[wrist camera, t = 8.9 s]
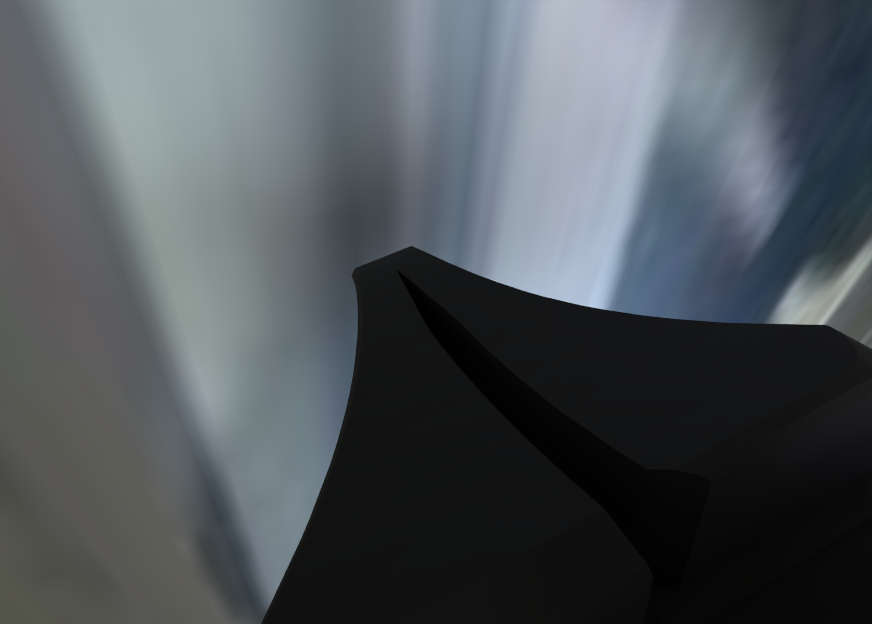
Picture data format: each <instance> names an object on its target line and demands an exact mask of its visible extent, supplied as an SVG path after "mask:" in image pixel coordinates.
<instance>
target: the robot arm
mask: <svg viewBox="0 0 872 624" xmlns="http://www.w3.org/2000/svg"><path fill="white" fill-rule="evenodd" d="M352 278H353V280H354V283H355V286H356V291H357V301H358V337H357V347H356V357H355V366H354V373H353V379H352V385H351V390H350V395H349V399H348V404H347V408H346V412H345V416H344V420H343V423H342V427H341V431H340V434H339V438H338V442H337V445H336V448H335V451H334V455H333V458H332V461H331V464H330V467H329V469H328V472H327V474H326V477H325V480H324V482H323V485H322V488H321V490H320V493H319V496H318V498H317V501H316V503H315V506H314V509H313V511H312V514H311V517H310V519H309V522H308V524H307V526H306V529H305V531H304V533H303V536H302V538H301V540H300V542H299V545H298V547H297V549H296V551H295V553H294V555H293V557H292V560H291V562H290V564H289V566H288V568H287V570H286V572H285V574H284V577H283V579H282V581H281V583H280V585H279V587H278V589H277V591H276V594H275V596H274V598H273V600H272V602H271V604H270V606H269V608H268V611H267V613H266V615H265V617H264V619H263V621H262V623H261V624H872V349H871V348H869V347H867V346H865V345H863V344H861V343H860V342H858V341H856V340H854V339H852V338H850V337H848V336H847V335H845V334H843V333H841V332H839V331H837V330H835V329H833V328H832V327H829V326H827V325H797V324H749V323H720V322H707V321H694V320H681V319H670V318H661V317H651V316H643V315H636V314H629V313H622V312H616V311H609V310H603V309H597V308H592V307H587V306H581V305H576V304H572V303H568V302H564V301H560V300H555V299H551V298H547V297H543V296H539V295H536V294H532V293H528V292H525V291H522V290H519V289H516V288H513V287H510V286H507V285H504V284H501V283H498V282H495V281H492V280H489V279H487V278H484V277H481V276H479V275H476V274H474V273H471V272H469V271H466V270H464V269H462V268H459V267H457V266H455V265H452V264H450V263H448V262H446V261H443V260H441V259H439V258H437V257H435V256H432V255H430V254H428V253H426V252H424V251H422V250H419V249H417V248H415V247H413V246H410V247H408V248H405V249H403V250H400V251H398V252H395V253H393V254H390V255H388V256H385V257H383V258H380V259H378V260H375V261H373V262H370V263H368V264H365V265H363V266H360V267H358V268H355V270H354V272H353V274H352Z"/></svg>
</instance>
